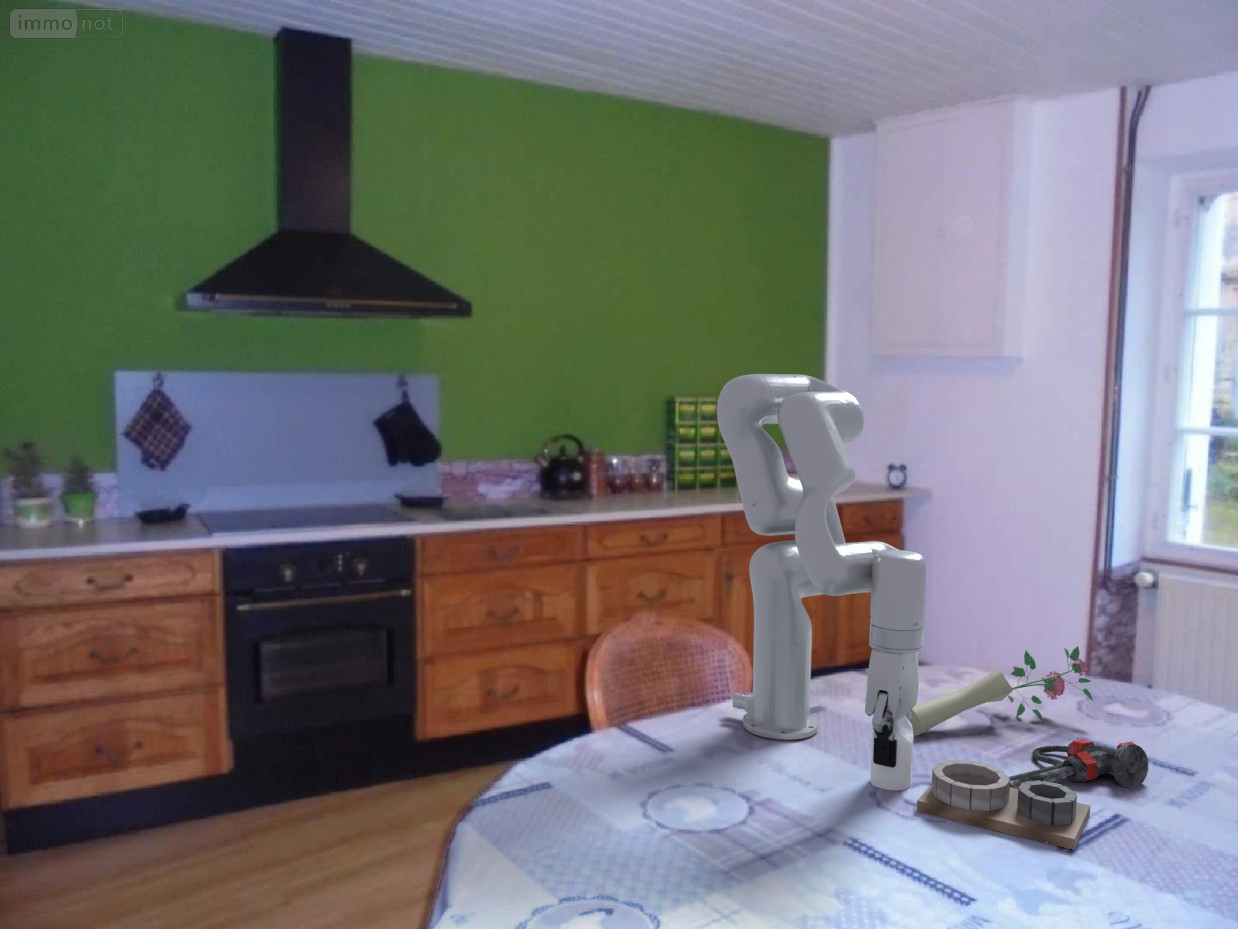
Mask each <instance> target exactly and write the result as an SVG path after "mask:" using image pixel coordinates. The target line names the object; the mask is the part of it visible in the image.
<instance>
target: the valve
mask: <svg viewBox="0 0 1238 929" xmlns="http://www.w3.org/2000/svg"><path fill="white" fill-rule="evenodd" d="M1044 753H1045V754H1046V753H1066V754H1067V756H1066V757H1065V759H1064V760H1063V761H1062V760H1060V759H1056V758H1053V757H1049V756H1046V755H1043V754H1044ZM1032 757H1033V759H1035V760H1036V761H1039V762H1042V763H1045V764H1049V765H1051V766H1047V767H1043V768H1039V769H1038V768H1037V769H1035V770H1031V771H1027V772H1023V773H1018V774H1015V775H1011V776H1008V777H1009V778H1010V787H1011V788H1016V789H1018V788H1019V787H1020V785H1021V783H1022V782H1023V783H1024V782H1026V781H1039V780H1040V781H1042V782H1043V781H1047V782H1050V781H1051V782H1052V781H1054V780H1058V779H1061V778H1067V779H1068V780H1070V781H1074V782H1079V783H1083V782H1087V781H1090V780H1094V779H1097V778H1098V776H1101V775H1104V774H1108V773H1109V774H1112V775H1113V777H1114V780H1115V781H1116V782H1117V783H1118V784H1119V786H1120V787H1124V788H1131V787H1136V786H1141V785H1142V784H1143V783H1144V781H1145V780H1146V778H1147V776H1148V772H1149V758H1148V756H1147V753H1146V752H1145V750H1144V749H1143V748H1142V747H1141V746H1140V745H1137V744H1135V743H1134V742H1133V741H1132V740H1131V741H1126V742H1119V743H1118V744H1117V746H1116V748H1112V747H1108V746H1104V745H1095V742H1094V741H1090V740H1087V739H1077V740H1072V741H1071V742H1070V743H1068V745H1045V746H1040V747H1037V748H1035V749H1033V751H1032Z"/></svg>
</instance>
